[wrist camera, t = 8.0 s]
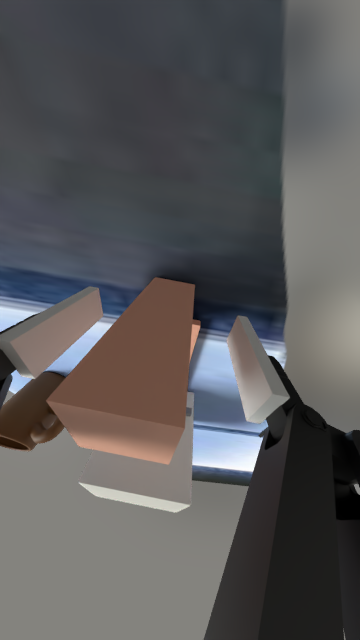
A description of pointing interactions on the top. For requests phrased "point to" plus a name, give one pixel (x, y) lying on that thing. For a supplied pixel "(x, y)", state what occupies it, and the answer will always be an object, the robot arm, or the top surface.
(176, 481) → the off-white block
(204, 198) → the top surface
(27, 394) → the mug
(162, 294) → the orange l-shaped bracket
